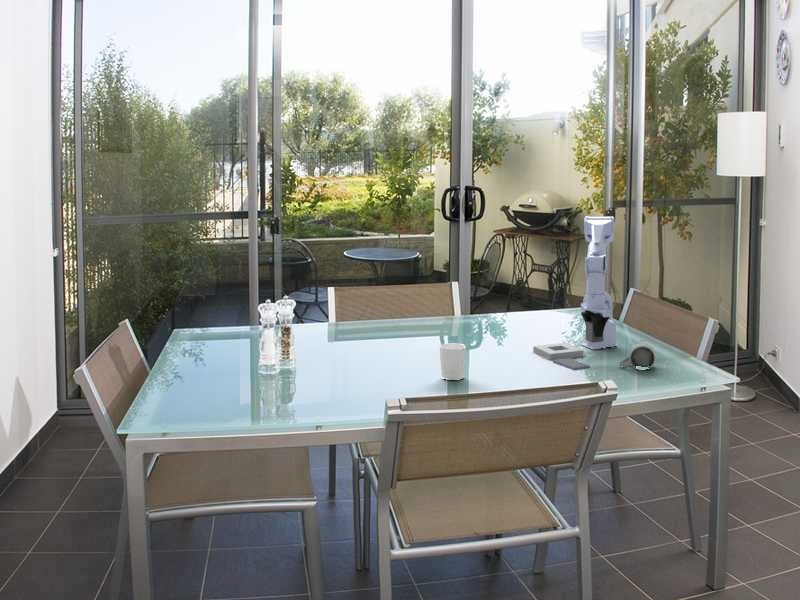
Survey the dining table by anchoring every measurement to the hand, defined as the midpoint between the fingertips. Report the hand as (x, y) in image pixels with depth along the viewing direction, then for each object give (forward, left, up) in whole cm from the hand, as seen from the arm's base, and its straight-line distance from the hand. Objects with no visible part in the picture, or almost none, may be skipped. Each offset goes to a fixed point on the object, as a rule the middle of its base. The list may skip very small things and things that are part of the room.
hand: (594, 335), depth 298 cm
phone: (+9, +1, -9) cm, 13 cm away
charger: (0, 0, -2) cm, 2 cm away
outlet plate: (+6, -13, -8) cm, 17 cm away
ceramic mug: (-8, +12, -9) cm, 17 cm away
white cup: (+49, +1, -9) cm, 50 cm away
